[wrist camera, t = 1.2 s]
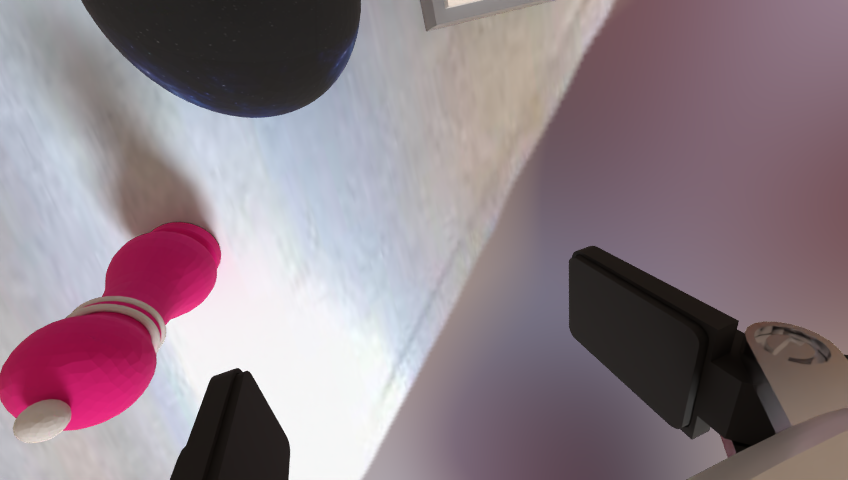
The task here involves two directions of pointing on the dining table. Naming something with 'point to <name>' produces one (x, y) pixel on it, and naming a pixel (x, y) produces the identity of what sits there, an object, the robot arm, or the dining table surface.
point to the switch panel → (467, 10)
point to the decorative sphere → (235, 48)
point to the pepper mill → (109, 336)
